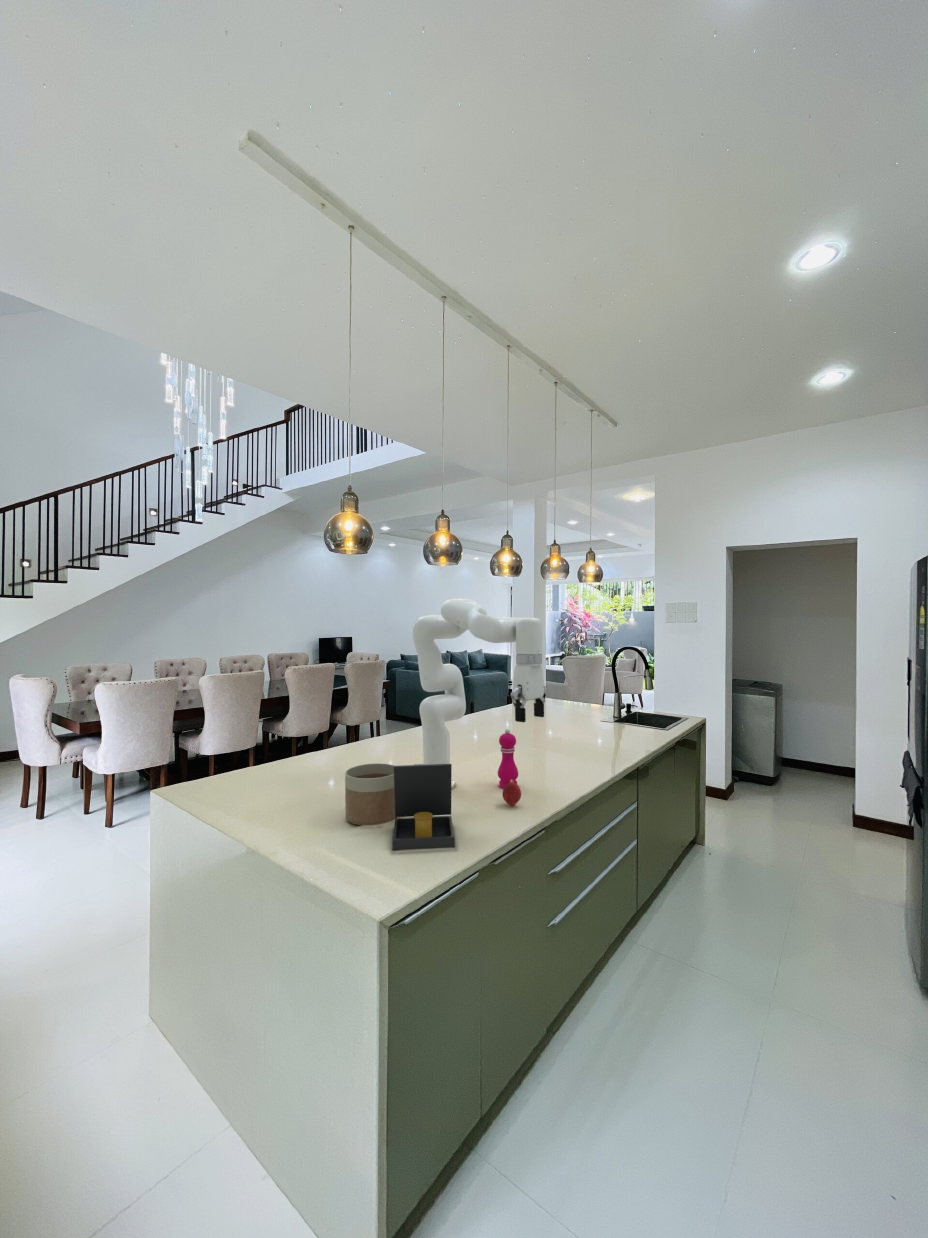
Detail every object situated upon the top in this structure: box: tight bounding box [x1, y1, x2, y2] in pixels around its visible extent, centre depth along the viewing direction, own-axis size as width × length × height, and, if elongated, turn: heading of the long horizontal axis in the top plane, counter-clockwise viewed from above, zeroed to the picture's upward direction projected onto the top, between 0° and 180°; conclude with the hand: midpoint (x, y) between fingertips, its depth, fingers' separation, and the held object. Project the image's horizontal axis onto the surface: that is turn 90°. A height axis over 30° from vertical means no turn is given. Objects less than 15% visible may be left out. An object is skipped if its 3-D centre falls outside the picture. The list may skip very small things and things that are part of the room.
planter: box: [344, 762, 398, 826], centre depth 152 cm, size 16×16×14 cm
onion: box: [501, 780, 522, 807], centre depth 160 cm, size 6×6×8 cm
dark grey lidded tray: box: [391, 815, 456, 851], centre depth 136 cm, size 15×16×3 cm
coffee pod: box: [413, 812, 433, 838], centre depth 135 cm, size 5×5×6 cm
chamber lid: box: [394, 763, 453, 818], centre depth 143 cm, size 16×16×5 cm
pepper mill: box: [497, 728, 519, 789], centre depth 180 cm, size 7×7×20 cm
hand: (529, 719), depth 149 cm, fingers open, 9 cm apart
